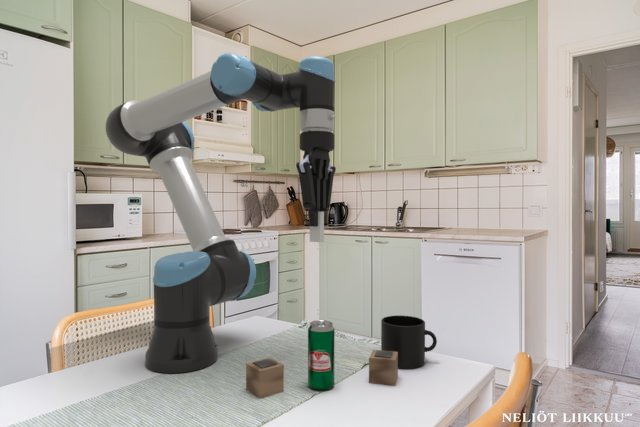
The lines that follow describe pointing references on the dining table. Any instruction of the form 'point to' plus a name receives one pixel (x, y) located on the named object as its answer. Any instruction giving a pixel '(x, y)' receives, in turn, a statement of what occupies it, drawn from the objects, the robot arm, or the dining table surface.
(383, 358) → the walnut block
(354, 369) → the dining table surface
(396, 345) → the mug
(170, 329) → the robot arm
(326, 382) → the soda can
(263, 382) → the walnut block
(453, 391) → the dining table surface
